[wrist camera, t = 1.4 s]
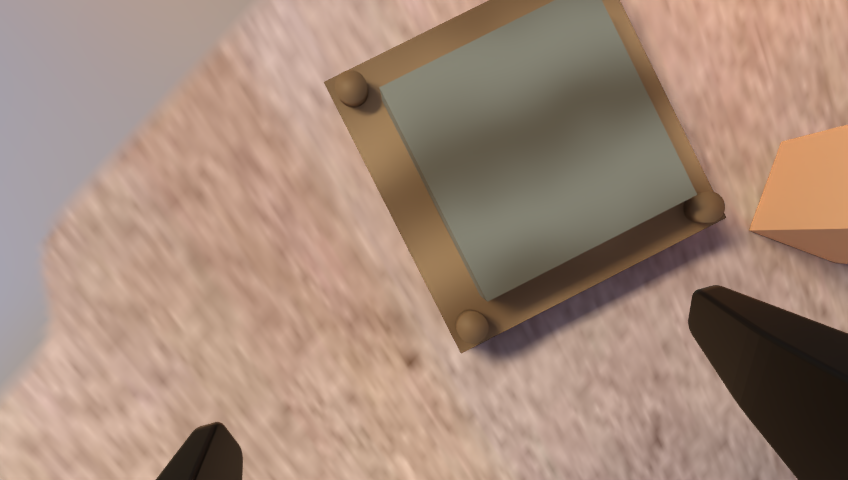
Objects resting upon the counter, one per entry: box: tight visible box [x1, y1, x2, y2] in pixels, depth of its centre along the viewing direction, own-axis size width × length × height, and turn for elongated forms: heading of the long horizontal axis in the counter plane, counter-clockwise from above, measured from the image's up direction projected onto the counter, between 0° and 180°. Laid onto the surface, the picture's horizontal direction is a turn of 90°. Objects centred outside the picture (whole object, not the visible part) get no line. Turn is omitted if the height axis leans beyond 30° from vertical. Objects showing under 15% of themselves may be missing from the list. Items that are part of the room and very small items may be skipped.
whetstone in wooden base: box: [324, 0, 726, 353], centre depth 21 cm, size 14×14×4 cm
